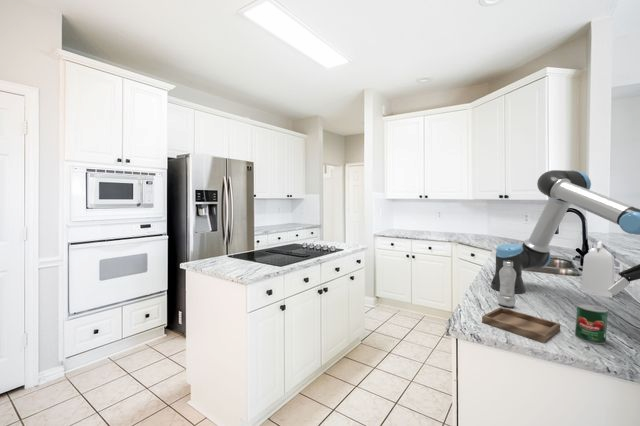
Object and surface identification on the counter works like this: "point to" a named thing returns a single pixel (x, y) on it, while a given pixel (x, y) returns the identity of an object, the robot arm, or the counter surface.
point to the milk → (598, 272)
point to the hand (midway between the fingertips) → (627, 298)
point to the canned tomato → (591, 323)
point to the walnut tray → (522, 324)
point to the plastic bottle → (507, 284)
